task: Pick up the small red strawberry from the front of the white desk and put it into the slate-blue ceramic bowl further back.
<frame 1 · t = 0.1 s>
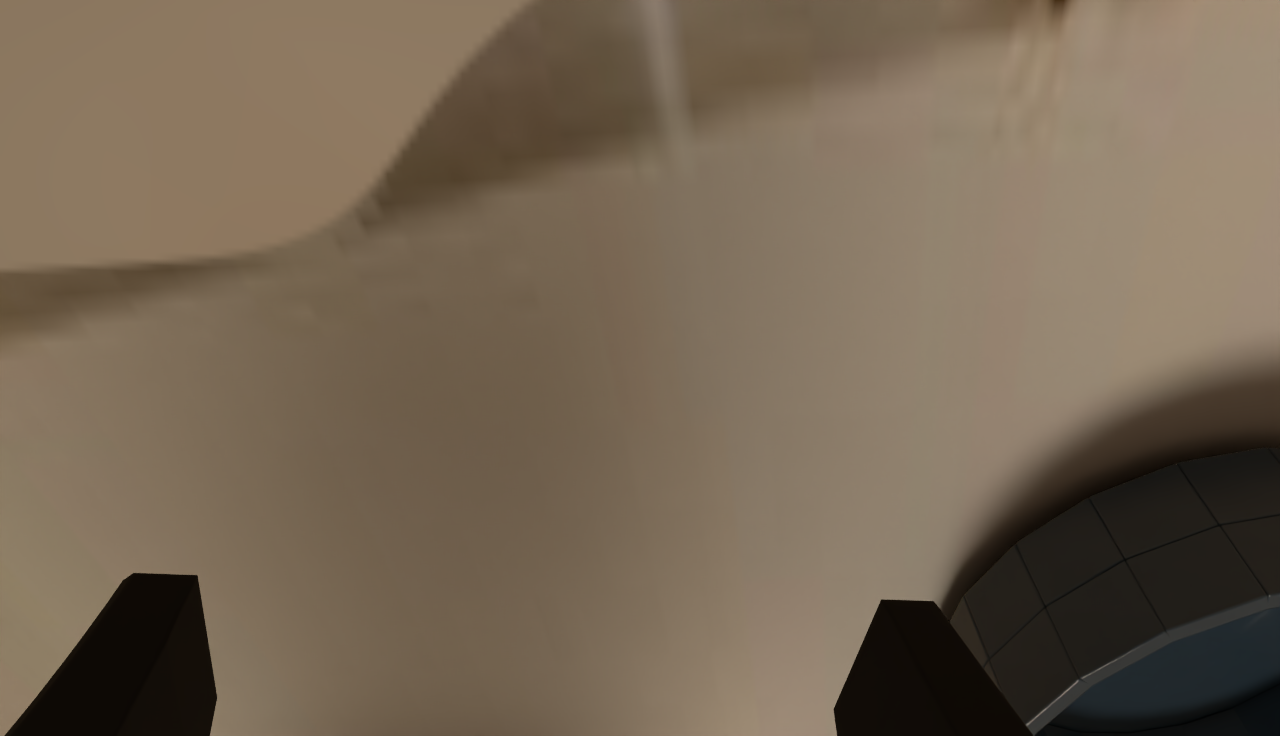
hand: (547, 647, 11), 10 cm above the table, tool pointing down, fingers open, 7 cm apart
bowl: (1168, 610, 29), on the table
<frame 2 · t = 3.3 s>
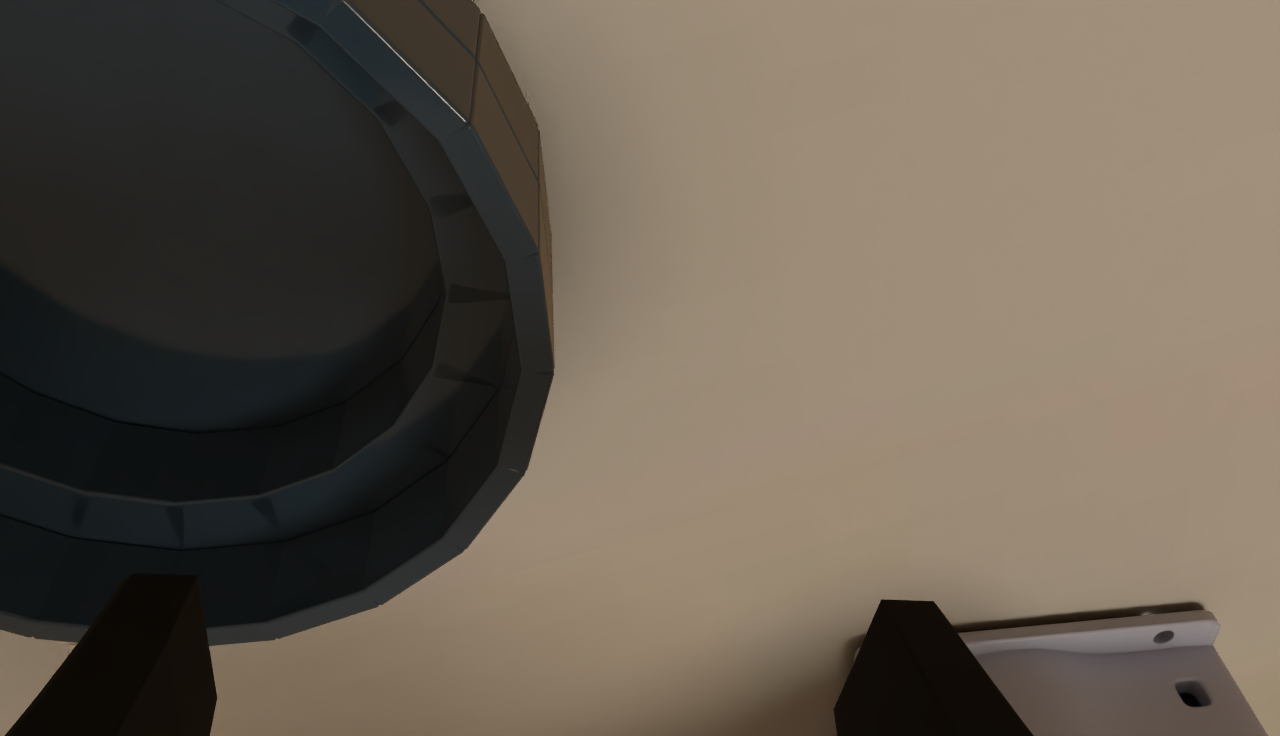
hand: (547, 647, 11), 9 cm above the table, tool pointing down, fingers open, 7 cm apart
bowl: (167, 196, 18), on the table
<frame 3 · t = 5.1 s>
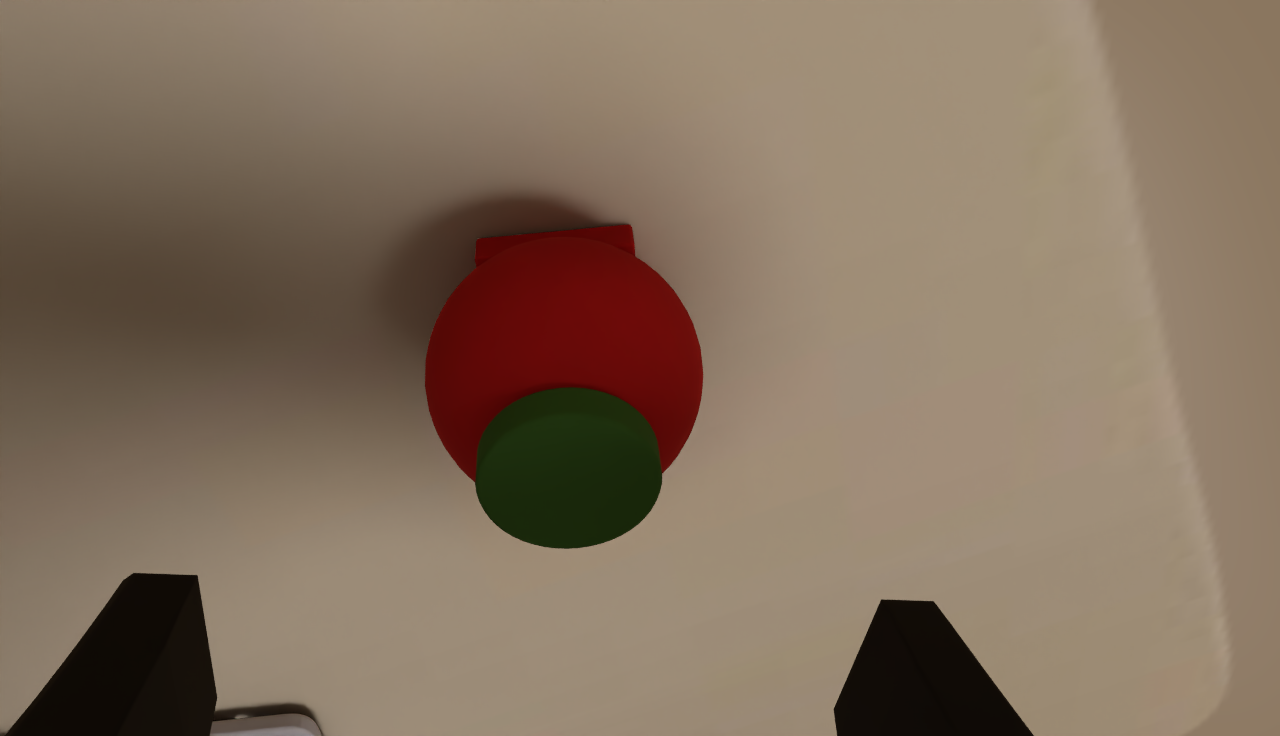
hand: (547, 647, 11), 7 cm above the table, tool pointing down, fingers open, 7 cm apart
strawberry: (562, 294, 17), on the table
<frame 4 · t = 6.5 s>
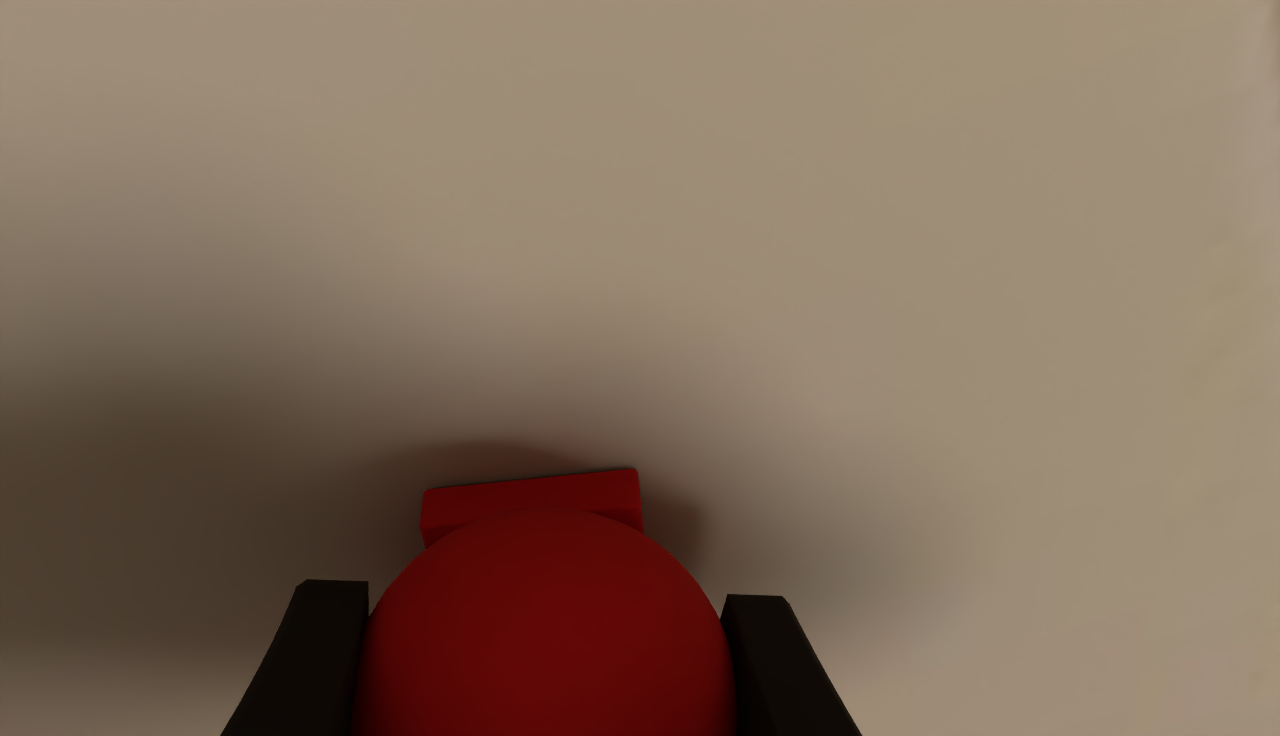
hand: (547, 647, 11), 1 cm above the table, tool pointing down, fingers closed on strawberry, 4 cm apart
strawberry: (543, 549, 13), on the table, touching gripper
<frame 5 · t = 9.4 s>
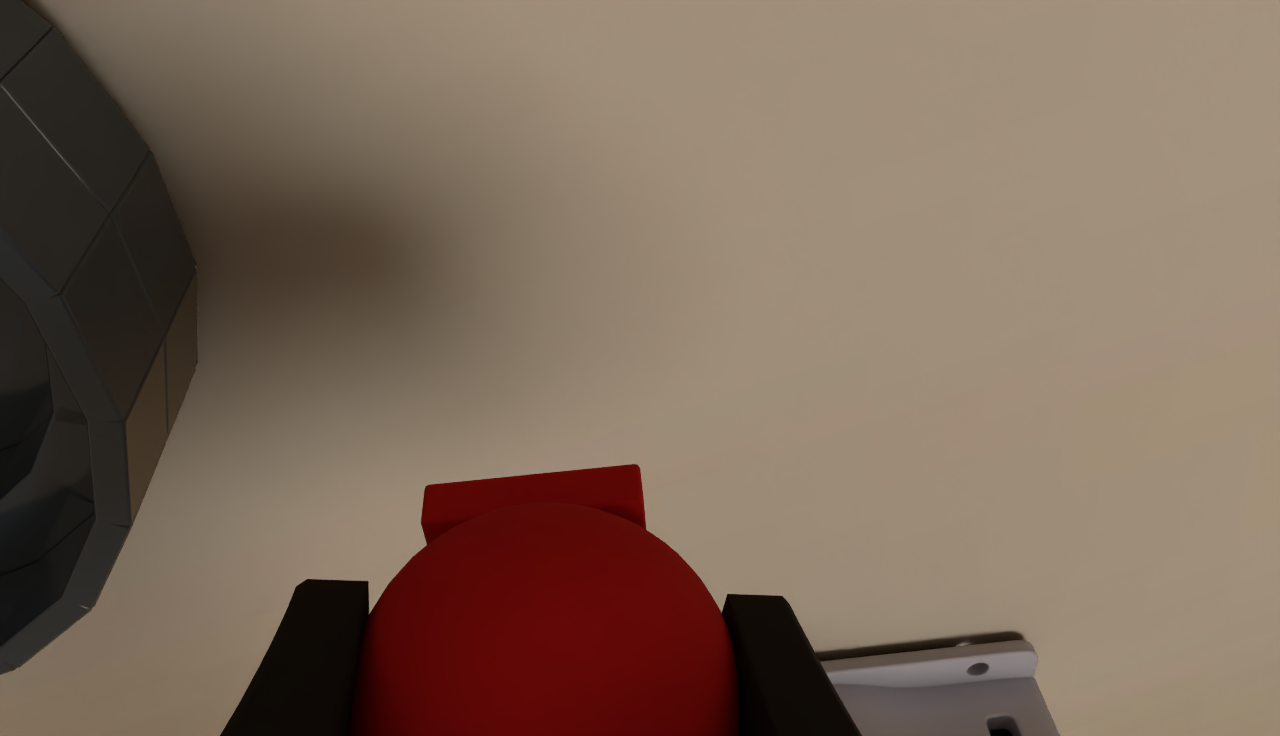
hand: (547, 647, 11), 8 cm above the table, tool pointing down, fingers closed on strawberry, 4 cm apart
strawberry: (544, 545, 13), point 7 cm above the table, touching gripper
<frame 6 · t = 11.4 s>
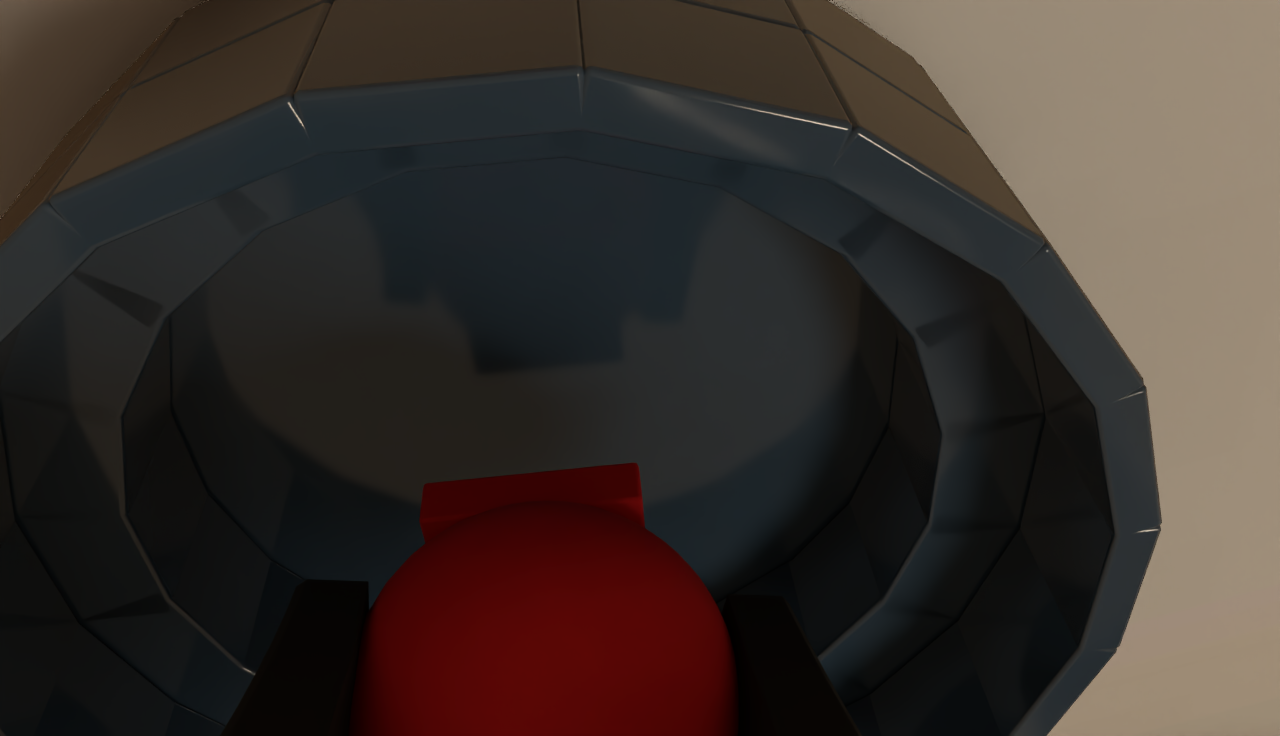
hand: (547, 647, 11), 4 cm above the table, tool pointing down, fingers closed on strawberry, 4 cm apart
bowl: (544, 389, 15), on the table
strawberry: (543, 543, 12), point 3 cm above the table, touching gripper
when the fingers open (2 cm above the table, at t = 12.6 s): strawberry stays where it is, resting on bowl.
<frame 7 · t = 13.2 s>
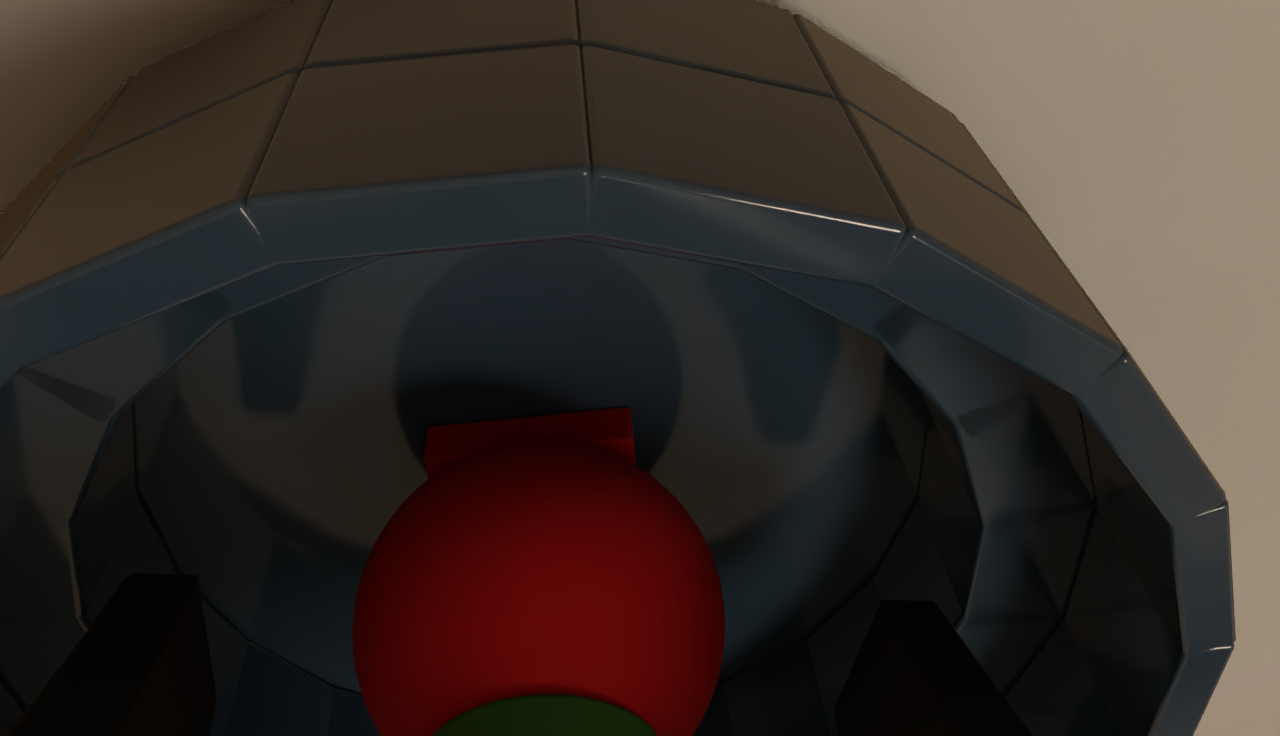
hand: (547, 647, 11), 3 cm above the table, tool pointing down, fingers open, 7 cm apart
bowl: (543, 460, 14), on the table
strawberry: (540, 486, 13), point 1 cm above the table, touching bowl
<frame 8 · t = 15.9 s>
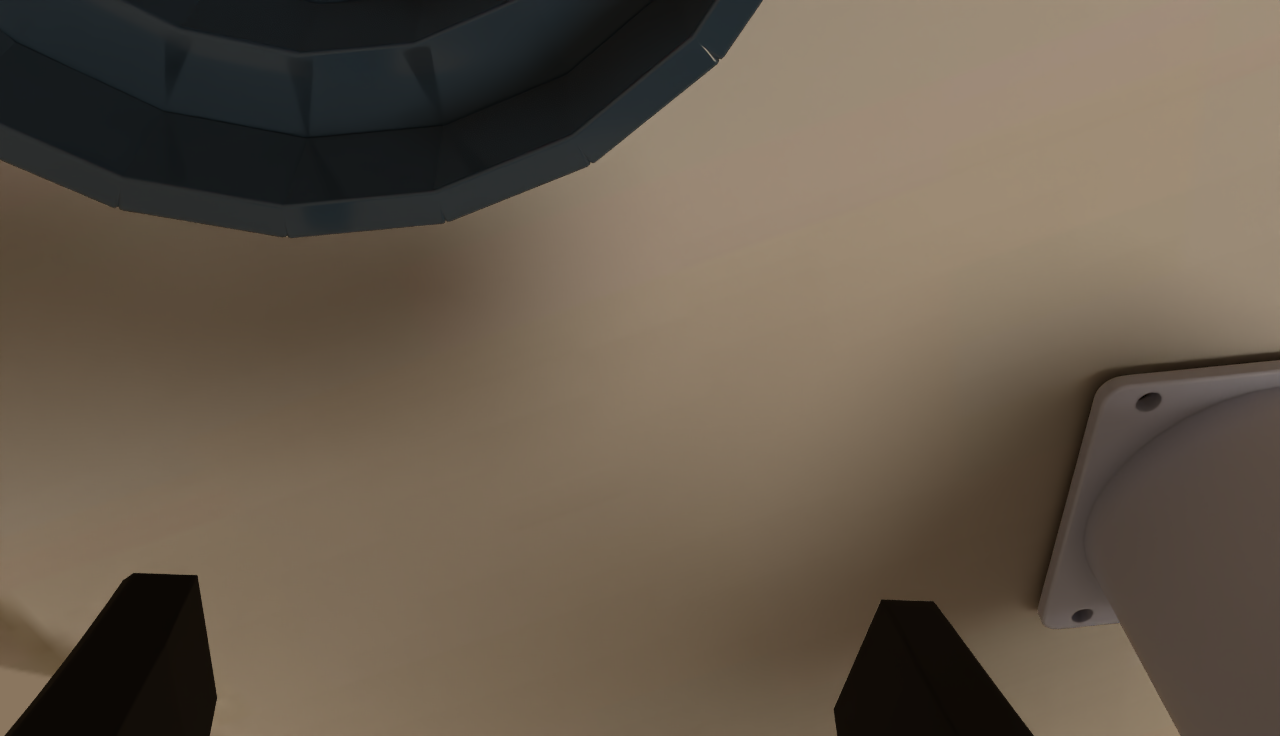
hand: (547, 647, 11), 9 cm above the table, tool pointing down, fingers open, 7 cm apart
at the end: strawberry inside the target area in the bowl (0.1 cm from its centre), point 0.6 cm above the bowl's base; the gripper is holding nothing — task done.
